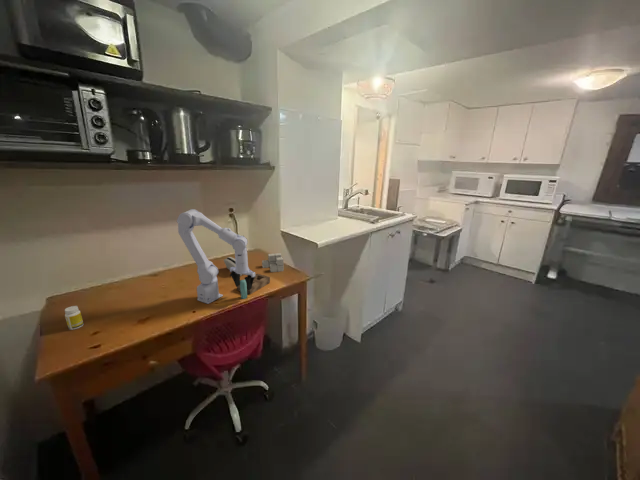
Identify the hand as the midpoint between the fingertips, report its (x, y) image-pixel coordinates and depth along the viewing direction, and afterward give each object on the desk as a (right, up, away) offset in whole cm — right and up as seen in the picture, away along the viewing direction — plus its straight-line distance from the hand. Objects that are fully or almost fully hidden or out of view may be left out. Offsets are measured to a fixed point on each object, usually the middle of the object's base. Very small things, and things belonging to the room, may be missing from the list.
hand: (243, 287), depth 136 cm
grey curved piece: (-14, +4, +33) cm, 36 cm away
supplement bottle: (-62, -12, -24) cm, 67 cm away
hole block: (+2, -2, +14) cm, 14 cm away
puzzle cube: (+8, +5, +38) cm, 39 cm away
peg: (0, -5, +2) cm, 6 cm away
